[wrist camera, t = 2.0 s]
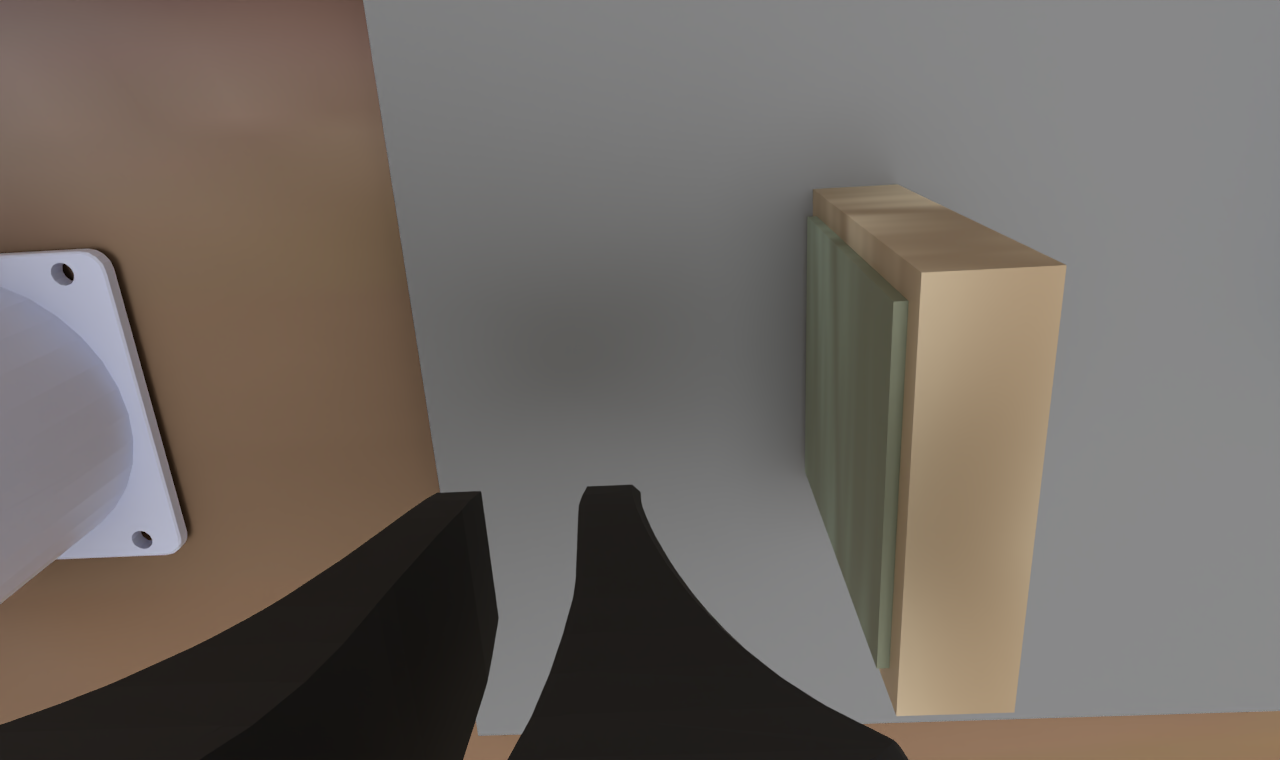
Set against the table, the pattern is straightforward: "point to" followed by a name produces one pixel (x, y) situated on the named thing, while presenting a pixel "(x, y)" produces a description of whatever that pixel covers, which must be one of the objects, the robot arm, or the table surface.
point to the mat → (777, 298)
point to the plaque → (929, 434)
